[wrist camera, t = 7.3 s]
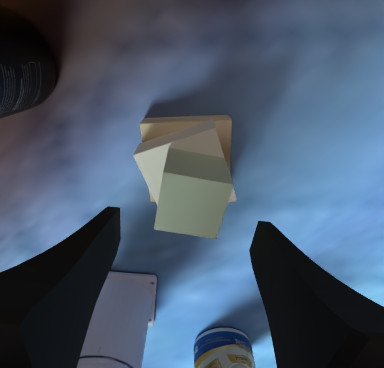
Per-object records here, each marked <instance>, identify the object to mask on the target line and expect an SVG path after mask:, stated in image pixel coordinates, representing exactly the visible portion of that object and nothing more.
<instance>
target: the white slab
mask: <svg viewBox="0 0 384 368" xmlns="http://www.w3.org/2000/svg"><path fill="white" fill-rule="evenodd" d="M168 148H174V149H179V150H185V151H190V152H195V153H201V154H206V155H211V156H217V157H222V158H224V154H223V151H222V148H221V144H220V141H219V138H218V134H217V131H216V127H215V125H214V122H213V119H211V120H208V121H205V122H202V123H199V124H196V125H193V126H190V127H187V128H184V129H181V130H178V131H175V132H172V133H170V134H167V135H164V136H161V137H158V138H155V139H152V140H149V141H146V142H143V143H140V144H139V145H138V147H137V149H136V151H135V153H134V155H133V156H134V158H135V160H136V162H137V164H138V166H139V169H140V171H141V173H142V175H143V177H144V179H145V181H146V183H147V185H148V187H149V189H150V191H151V193H152V196H153V198H154V200H155V202H156V204H157V206H158V200H159V194H160V188H161V182H162V176H163V170H164V166H165V161H166V157H167V152H168ZM233 201H237V198H236V195H235V192H234V188H233V189H232V192H231V195H230V198H229V201H228V203H230V202H233Z"/></svg>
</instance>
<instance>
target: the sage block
mask: <svg viewBox="0 0 384 368" xmlns="http://www.w3.org/2000/svg"><path fill="white" fill-rule="evenodd" d="M233 186H234V184H233V181H232V178H231V175H230V172H229V169H228V166H227V163H226V160H225V158H222V157H217V156H211V155H206V154H201V153H195V152H190V151H185V150H179V149H174V148H168V152H167V157H166V161H165V166H164V170H163V176H162V182H161V188H160V194H159V200H158V207H157V213H156V219H155V225H154V230H160V231H167V232H173V233H180V234H186V235H193V236H199V237H206V238H212V239H217V236H218V233H219V229H220V226H221V223H222V220H223V217H224V214H225V211H226V208H227V205H228V201H229V198H230V195H231V192H232V189H233Z"/></svg>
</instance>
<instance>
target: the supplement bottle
mask: <svg viewBox="0 0 384 368" xmlns="http://www.w3.org/2000/svg"><path fill="white" fill-rule="evenodd" d="M55 79H56V68H55V62H54V58H53V55H52V52H51V50H50V48H49V46H48V44H47V42H46V40H45V39H44V37H43V36H42V34H41V33H40V32H39V31H38V29H37V28H36V27H35V26H34V25H33V24H32V23H31V22H30V21H28V20H27V19H26V18H25V17H23V16H22V15H20V14H19V13H17V12H15V11H13V10H11V9H9V8H7V7H4V6H1V5H0V119H1V118H4V117H7V116H10V115H13V114H16V113H19V112H22V111H25V110H28V109H31V108H33V107H36V106H38V105H40V104H41V103H43V102H44V101H45V100H46V99H47V98H48V97H49V95H50V94H51V92H52V90H53V88H54V84H55Z"/></svg>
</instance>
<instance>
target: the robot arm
mask: <svg viewBox="0 0 384 368" xmlns="http://www.w3.org/2000/svg"><path fill="white" fill-rule="evenodd" d="M120 239H121V237H120V208H118V207H107V208H105V209H104V210H103V211H101V212H100V213H99V214H98V215H97V216H95V217H94V218H93V219H92V220H90V221H89V222H88V223H87V224H85V225H84V226H83V227H81V228H80V229H79V230H77V231H76V232H75V233H73V234H72V235H70V236H69V237H67V238H66V239H65V240H63V241H62V242H60V243H58V244H57V245H55V246H53V247H52V248H50V249H48V250H46V251H45V252H43V253H41V254H39V255H37V256H35V257H33V258H31V259H29V260H27V261H25V262H23V263H21V264H19V265H17V266H14V267H12V268H10V269H8V270H5V271H3V272H0V368H141V367H142V360H143V354H144V347H145V341H146V334H147V328H148V327H152V326H153V323H154V311H155V298H156V285H157V277H156V276H155V275H149V274H136V273H124V272H111V271H110V269H111V266H112V264H113V262H114V259H115V257H116V254H117V250H118V247H119V243H120ZM250 257H251V263H252V268H253V271H254V275H255V278H256V281H257V284H258V288H259V291H260V294H261V297H262V300H263V303H264V306H265V310H266V314H267V317H268V322H269V327H270V332H271V336H272V342H273V347H274V352H275V358H276V364H277V368H384V307H383V306H381V305H379V304H377V303H375V302H374V301H372V300H370V299H368V298H366V297H365V296H363V295H361V294H360V293H358V292H356V291H355V290H353V289H352V288H350V287H348V286H347V285H345V284H344V283H342V282H341V281H339V280H338V279H336V278H335V277H333V276H332V275H331V274H329V273H328V272H326V271H325V270H324V269H322V268H321V267H320V266H318V265H317V264H316V263H315V262H313V261H312V260H311V259H310V258H309V257H307V256H306V255H305V254H304V253H303V252H302V251H301V250H299V249H298V248H297V247H296V246H295V245H294V244H293V243H292V242H291V241H290V240H289V239H288V238H287V237H285V236H284V235H283V234H282V233H281V232H280V231H279V230H278V229H277V228H276V227H275V226H274V225H273V224H272V223H270V222H265V221H258V224H257V227H256V231H255V234H254V237H253V241H252V244H251V247H250Z"/></svg>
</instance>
